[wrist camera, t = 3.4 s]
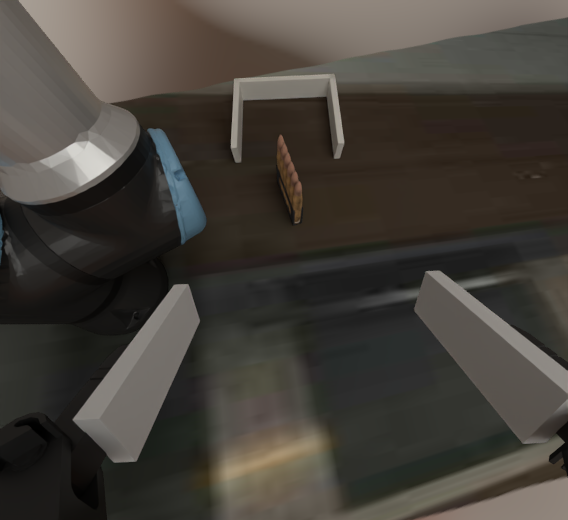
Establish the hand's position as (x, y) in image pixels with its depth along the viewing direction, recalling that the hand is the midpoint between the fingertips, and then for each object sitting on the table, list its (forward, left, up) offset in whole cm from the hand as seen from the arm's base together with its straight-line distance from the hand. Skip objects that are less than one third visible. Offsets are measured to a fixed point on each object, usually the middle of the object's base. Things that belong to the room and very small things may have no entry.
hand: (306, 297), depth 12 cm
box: (0, +41, -26) cm, 49 cm away
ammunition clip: (0, +22, -26) cm, 34 cm away
